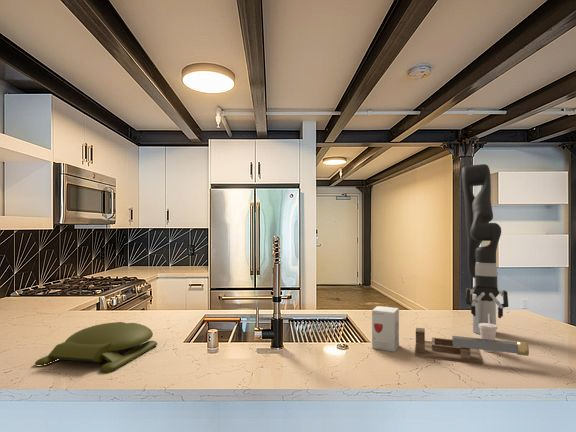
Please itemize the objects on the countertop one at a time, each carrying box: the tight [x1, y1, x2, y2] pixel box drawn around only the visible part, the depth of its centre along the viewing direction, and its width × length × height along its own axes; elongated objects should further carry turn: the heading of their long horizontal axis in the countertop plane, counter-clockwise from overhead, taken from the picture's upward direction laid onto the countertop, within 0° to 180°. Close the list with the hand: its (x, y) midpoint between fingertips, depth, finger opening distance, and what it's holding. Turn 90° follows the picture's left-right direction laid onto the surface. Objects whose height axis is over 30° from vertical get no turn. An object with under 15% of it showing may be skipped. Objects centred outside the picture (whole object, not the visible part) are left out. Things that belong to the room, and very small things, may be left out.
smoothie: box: [478, 314, 498, 353], centre depth 137 cm, size 6×6×14 cm
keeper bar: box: [451, 335, 530, 357], centre depth 125 cm, size 4×23×4 cm, turn 68°
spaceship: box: [34, 321, 158, 373], centre depth 136 cm, size 35×31×10 cm
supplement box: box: [371, 305, 400, 352], centre depth 142 cm, size 9×9×15 cm
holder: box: [414, 327, 483, 365], centre depth 135 cm, size 17×22×9 cm
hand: (486, 316), depth 137 cm, fingers open, 8 cm apart
